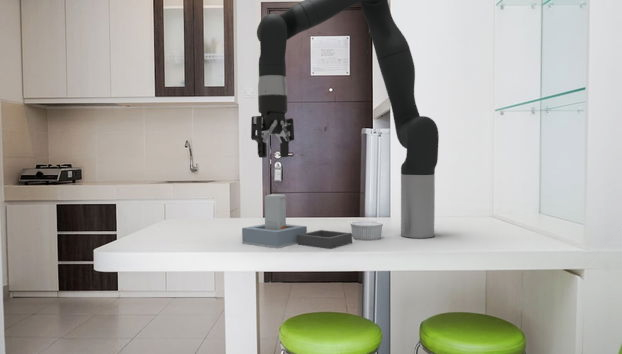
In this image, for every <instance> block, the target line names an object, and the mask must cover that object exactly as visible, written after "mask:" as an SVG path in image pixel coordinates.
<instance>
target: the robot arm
mask: <svg viewBox="0 0 622 354" xmlns="http://www.w3.org/2000/svg"><path fill="white" fill-rule="evenodd" d="M356 4H359V5H360V7H361V10H362V12H363V15H364V18H365V20H366V23H367V25H368V29H369V34H370V37H371V42H372V44H373V47H374V52H375V56H376V60H377V62H378V67H379V69H380V73H381V77H382V79H383V82H384V86H385V89H386V93H387V96H388V100H389V103H390V106H391V107H390V108H391V111H392V116H393V122H394V126H395V133H396V137H397V138H396V139H397V140H398V142H399V144H400V145H401V146H402V147H403V148H405V149H406V157H405V159H404V162H403V163H402V164H401V166H400V236H402V237H406V238H413V239H414V238H415V239H425V238H433V237H435V212H436V211H435V203H436V202H435V191H436V190H435V188H436V186H435V184H436V183H435V180H436V179H435V178H436V176H435V173H436V172H435V171H436V167H437V165H438V160H439V141H440V140H439V128H438V125H437V124H436V122H435V121H434V120H433V119H432V118H431V117H428V116H424V115H423V116H422V115H420V113H419V110H418V107H417V104H416V98H415V84H416V83H415V82H416V70H415V69H416V67H415V62H414V59H413V55H412V52H411V48H410V46H409V43H408V41H407V39H406V37H405V35H404V34H403V32H402V31H401V30H400V29H399V27H398V25H397V24H396V22H395V21H394V18H393V16H392V13H391V10H390V6H389V5H390V4H389V1H388V0H303V1H300V2H298V3H295V4H293V6H291V7H289V9H287V10H286V11H284V12H282V13H280V14H277V13H268V14H266V15H264V16H263V17H262V18H261V20H260V22H259V23H258V26H257V29H256V37H257V40H258V41H259V43H260V48H259V50H260V52H259V53H260V54H259V58H258V84H257V99H258V100H257V101H258V106H257V107H258V113H259V114H260V115H255V116H251V124H250V126H251V128H250V131H251V132H250V138H251V140H252V141H255V142H256V143H257V155H258V157H259V158H267V155H268V151H267V150H268V149H267V147H268V146H267V145H268V144H267V140H268V138H269V137H270V136H271V135H275V136H276V138H278V140H279V142H280V143H279V146H280V147H279V149H280V150H279V151H280V152H279V153H280V157H281V158H288V157H289V154H290V153H289V148H290V147H289V143H290V142H292V141H294V140H295V129H294V128H295V126H294V119H293V118H292V117H288V118H286V116H285V115H286V113H288V84H287V75H286V74H287V69H286V66H287V65H286V63H287V62H286V53H287V50H286V49H287V41H288V40H290V39H291V38H293V37H295V36H296V35H298V34H300V33H302V32H306V31H307V30H310V29H312V28H314V27H316V26H319V25H321V24H323V23H324V22H326V21H328V20H331V18H333V17H335V16H337V15H339V14H341V12H343V11H345V10H347V9H349V8H350V7H353V6H355V5H356Z"/></svg>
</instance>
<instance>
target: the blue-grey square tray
mask: <svg viewBox="0 0 622 354" xmlns="http://www.w3.org/2000/svg"><path fill="white" fill-rule="evenodd" d="M307 230H308V228H307V226H306V225H296V224H287V223H286V229H281V230H268V229H265V223H263V224H258V225H252V226H246V227H241V235H242V236H241V238H242V239H241V240H242V241H241V242H242V244H245V245H253V246H258V247H259V246H260V247H267V248H274V249H281V248H283V247H288V246H291V245H292V246H293V245H296V244H297V245H298V235H299V234H304V233H308V231H307Z"/></svg>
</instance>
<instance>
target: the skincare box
mask: <svg viewBox="0 0 622 354" xmlns="http://www.w3.org/2000/svg"><path fill="white" fill-rule="evenodd" d="M286 196H287V195H286V194H282V193H280V194H277V193H271V194H267V195H265V196H264V224H265V229H268V230H281V229H286V224H287V221H286V220H287V210H286V209H287V204H286V203H287V199H286V198H287V197H286Z"/></svg>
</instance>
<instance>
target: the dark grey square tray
mask: <svg viewBox="0 0 622 354" xmlns="http://www.w3.org/2000/svg"><path fill="white" fill-rule="evenodd" d="M352 243H353V237H352V232H342V231H335V230H334V231H332V230H323V229H319V230H313V231H310V232H307V233H304V234H299V235H298V244H297V245H298V246H307V247H312V248H313V247H315V248H316V247H317V248H321V249H333V248H339V247H341V246H345V245H349V244H352Z"/></svg>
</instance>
